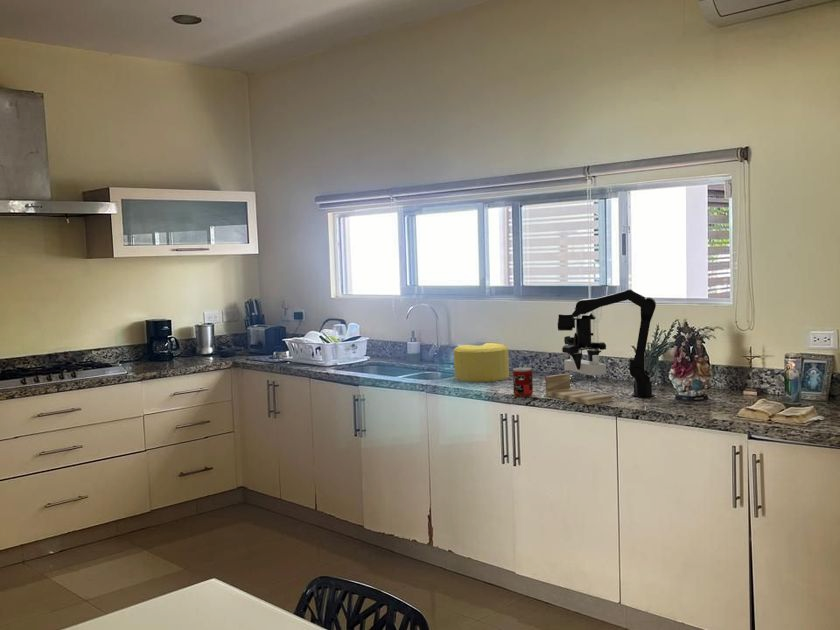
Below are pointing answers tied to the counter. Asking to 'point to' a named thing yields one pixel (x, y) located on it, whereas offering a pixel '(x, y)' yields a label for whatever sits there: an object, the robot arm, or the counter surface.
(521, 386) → the canned food
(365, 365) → the counter surface
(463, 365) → the cheese
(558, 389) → the shelf
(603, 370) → the white studded brick
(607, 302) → the robot arm
